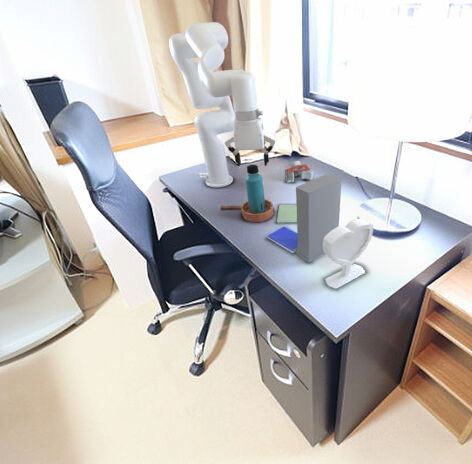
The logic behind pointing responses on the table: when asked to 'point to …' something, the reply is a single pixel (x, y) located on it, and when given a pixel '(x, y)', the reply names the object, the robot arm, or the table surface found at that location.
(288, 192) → the table surface
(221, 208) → the pan handle
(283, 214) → the cloth
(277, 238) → the hard drive
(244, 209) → the pan
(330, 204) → the tall grey upright box
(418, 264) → the table surface
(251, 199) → the beverage bottle
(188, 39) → the robot arm
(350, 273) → the heart sculpture
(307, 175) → the tape dispenser
